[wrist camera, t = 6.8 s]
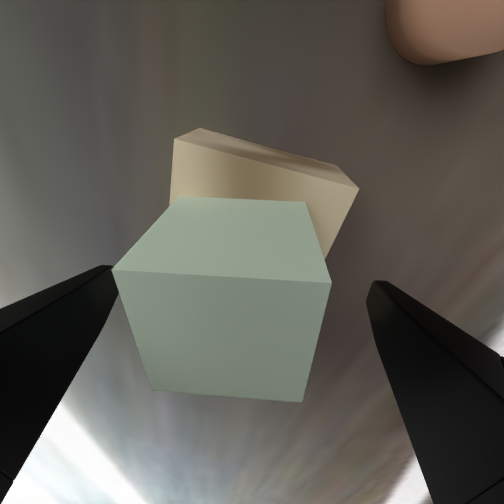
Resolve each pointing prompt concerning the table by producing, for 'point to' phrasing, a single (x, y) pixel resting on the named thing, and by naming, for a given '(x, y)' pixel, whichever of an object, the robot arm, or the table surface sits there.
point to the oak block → (261, 178)
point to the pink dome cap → (444, 29)
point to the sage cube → (227, 297)
